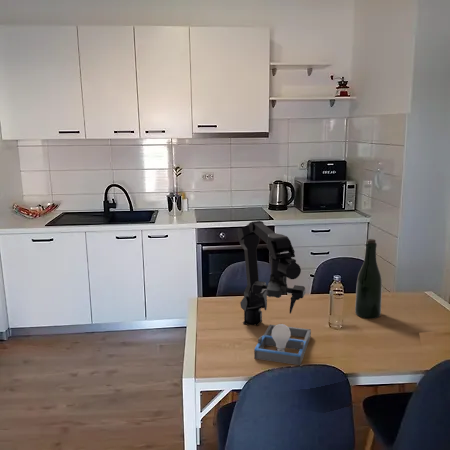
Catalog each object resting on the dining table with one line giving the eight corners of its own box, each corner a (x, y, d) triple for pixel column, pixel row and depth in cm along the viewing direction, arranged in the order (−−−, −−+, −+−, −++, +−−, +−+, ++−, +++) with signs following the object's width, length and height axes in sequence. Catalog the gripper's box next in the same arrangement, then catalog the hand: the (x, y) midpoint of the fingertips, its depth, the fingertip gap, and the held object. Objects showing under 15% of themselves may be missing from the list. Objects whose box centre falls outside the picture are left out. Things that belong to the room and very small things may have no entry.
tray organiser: (254, 358, 158) (254, 345, 157) (269, 331, 179) (269, 319, 178) (300, 365, 153) (300, 351, 152) (310, 336, 174) (310, 324, 173)
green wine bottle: (374, 309, 200) (377, 236, 194) (385, 318, 190) (389, 241, 184) (351, 310, 199) (354, 237, 193) (361, 320, 189) (364, 242, 183)
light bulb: (289, 359, 157) (289, 329, 155) (270, 357, 158) (270, 327, 156) (291, 350, 163) (291, 321, 161) (272, 348, 165) (272, 320, 163)
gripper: (247, 275, 159) (247, 316, 162) (300, 280, 153) (299, 323, 156) (256, 265, 169) (255, 305, 173) (306, 270, 163) (304, 311, 166)
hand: (277, 311), depth 167 cm, fingers open, 9 cm apart
